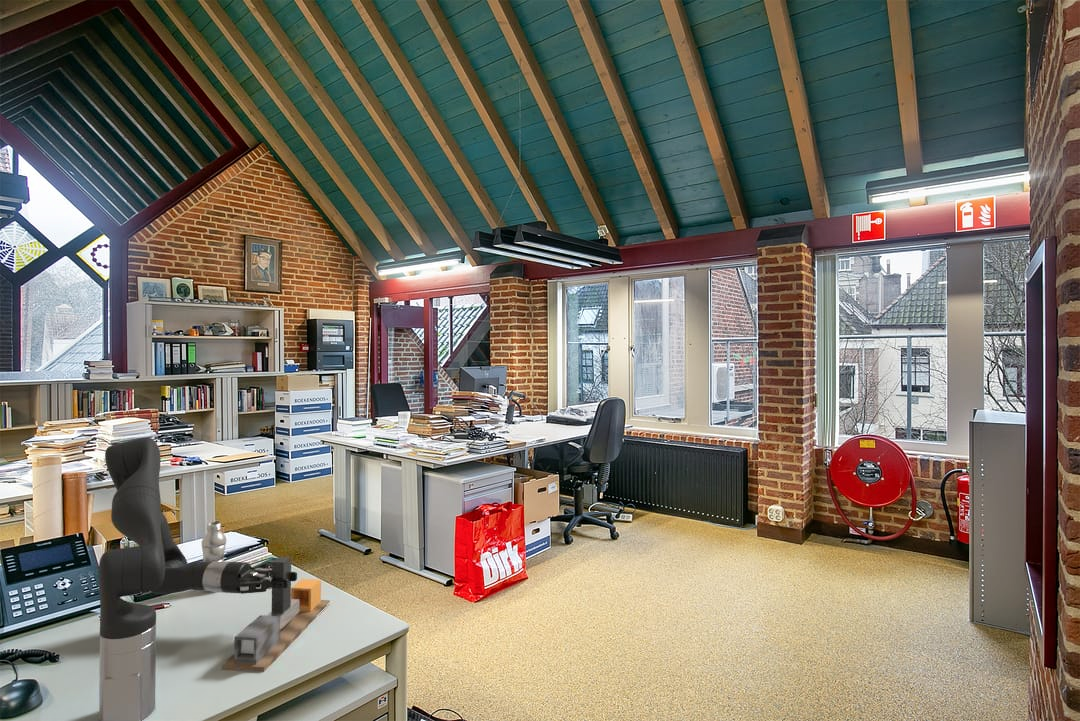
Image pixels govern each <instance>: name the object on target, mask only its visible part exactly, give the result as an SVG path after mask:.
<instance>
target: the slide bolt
mask: <svg viewBox="0 0 1080 721" xmlns="http://www.w3.org/2000/svg"><path fill="white" fill-rule="evenodd" d="M276 558H277V559H276V560H274V561H273V562H272V578H273V579H274V578H280V579H288V580H289V585H288V587H287V588H272V589H271V612H270V613H269V614H268V615H267V616H280V630H281V629H282V628H283V627H284V626H285V625H286V624H287V623H288V622H289V621H290V620H291V619H292V618H294V617H295V616H296V615H297V614H298V613H299V599H291V588H292V581H291V572H292V556H279V557H276ZM241 654H254V640H241Z"/></svg>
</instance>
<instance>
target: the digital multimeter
mask: <svg viewBox="0 0 1080 721" xmlns="http://www.w3.org/2000/svg"><path fill="white" fill-rule="evenodd" d="M277 558H278V557H273V556H272V557H270V558H268V559H266V560H264V561H262V562H260V563H258V564H256V565H254V566H251V567H252V568H253V569H256V568H263V569H265V568H266V565H268V564H270V565H272V562H273V561H274V560H276V559H277Z"/></svg>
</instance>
